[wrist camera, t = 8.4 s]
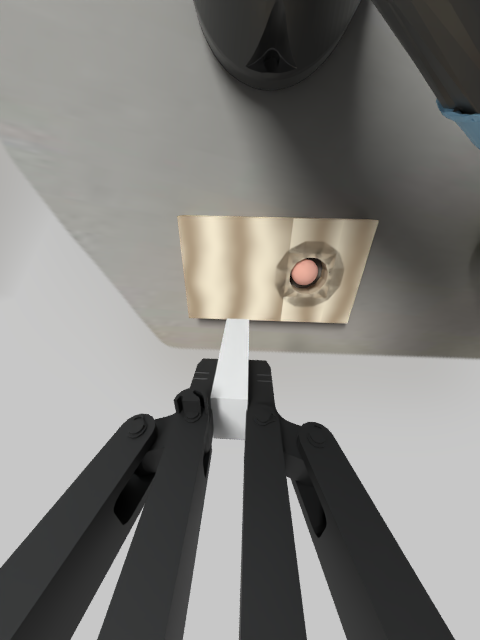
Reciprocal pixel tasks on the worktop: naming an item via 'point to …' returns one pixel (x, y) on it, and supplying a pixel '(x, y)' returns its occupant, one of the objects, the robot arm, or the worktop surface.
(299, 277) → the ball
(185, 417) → the robot arm
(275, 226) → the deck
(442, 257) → the worktop surface
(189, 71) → the worktop surface
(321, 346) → the worktop surface
